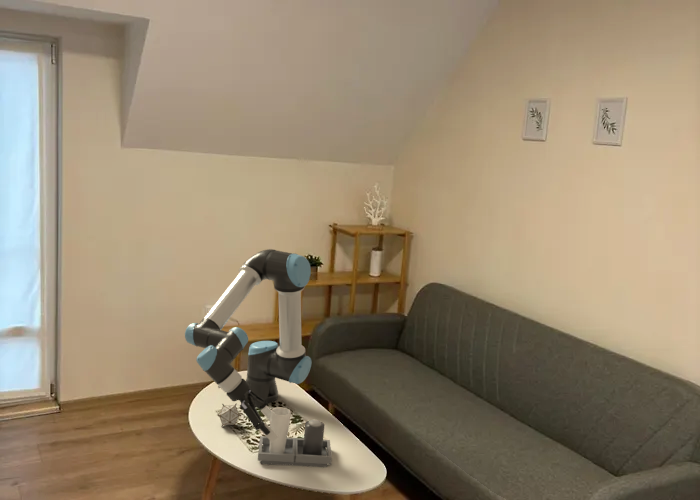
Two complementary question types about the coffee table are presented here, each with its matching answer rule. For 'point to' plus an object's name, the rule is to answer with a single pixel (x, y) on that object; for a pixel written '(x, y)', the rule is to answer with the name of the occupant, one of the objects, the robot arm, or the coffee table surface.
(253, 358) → the robot arm
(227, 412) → the game die
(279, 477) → the coffee table surface
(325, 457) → the divided desk organizer
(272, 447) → the drinking glass
